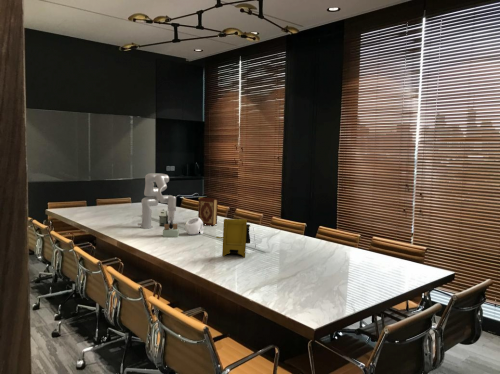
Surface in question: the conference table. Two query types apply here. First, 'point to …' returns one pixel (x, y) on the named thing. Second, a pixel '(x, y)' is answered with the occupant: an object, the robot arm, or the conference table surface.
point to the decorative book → (208, 210)
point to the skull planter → (194, 226)
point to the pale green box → (171, 233)
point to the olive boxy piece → (235, 236)
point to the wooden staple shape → (166, 226)
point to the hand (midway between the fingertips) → (171, 228)
